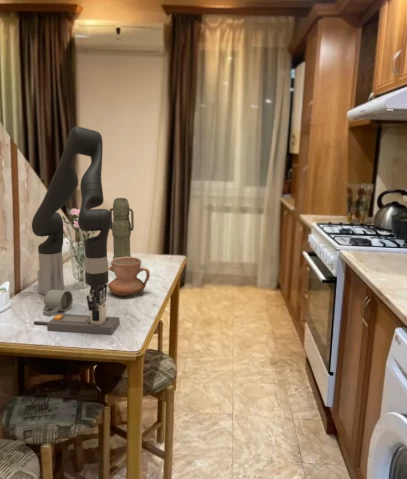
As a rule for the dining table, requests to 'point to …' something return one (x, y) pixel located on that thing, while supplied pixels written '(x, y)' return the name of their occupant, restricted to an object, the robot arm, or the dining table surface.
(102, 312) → the block
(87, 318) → the power strip
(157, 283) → the dining table surface
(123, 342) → the dining table surface
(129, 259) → the ceramic jug
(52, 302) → the ceramic mug
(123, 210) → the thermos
